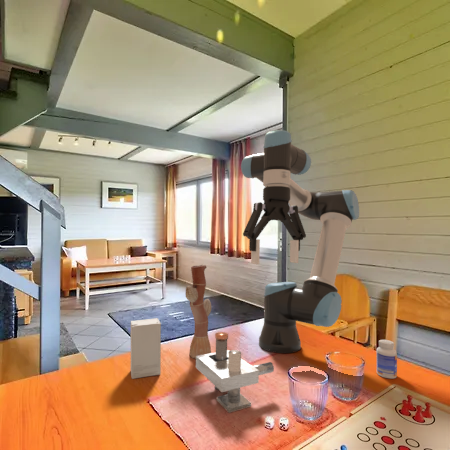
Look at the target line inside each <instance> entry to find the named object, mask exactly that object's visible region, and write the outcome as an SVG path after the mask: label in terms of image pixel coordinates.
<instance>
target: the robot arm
mask: <svg viewBox="0 0 450 450" xmlns="http://www.w3.org/2000/svg"><path fill="white" fill-rule="evenodd" d="M292 140H293V139H292V135H291V133H290V131H288V130H283V129H277V130H276V129H275V130H270V131H268V132H267V133H266V134H265V136H264V142H263V152H262V153H257V154H254V153H253V154H252V155H248V156H245V157H244V158H243V159H242V161H241V165H240V169H241V173H242V175H243V176H244V177H245V178H246V179H254V178H255V179H257V180H259V181H260V182H261V183H262V185H263V186H264V188H263V189H262V190H263V191H262V200H263V202H261V201H259V202H254V204H253V209H252V212H251V215H250V217H249V219H248V221H247V223H246V226H245V228H244V230H243V233H242V236H243V237H246V238H247V240H249V244H248V248H249V252H251V254H250V255H251V256H250V258H251V260H250V263H251V264H254V265H260V245H261V244H260V243H261V239H258V237H259V236H260V235H261V233H262V232H263V231H264V229H265V228H266V226H267V225H268V224H269V223H270V221H277V222H278V221H280V222H281V223H282V224H283V225H284V228H285V229H286V231H287V232H288V233H289V235H290V237H291V239H290V240H289V242H290V243H289V244H290V245H289V246H290V247H289V262H290V263H295V264H299V252H300V250H301V241H302V240H304V239H305V238H306V237H307V234H306V232H305V228H304V225H303V223H302V220H301V217H300V215H301V216H303V217H305V218H307V219H311V220H315V221H320V222H321V224H322V227H321V229H320V230H321V231H320V235H319V239H318V242H317V247H316V251H315V255H314V259H313V262H312V267H311V270H310V275H309V278H307V279H305V280H304V281H303V285H302V287H298V285H297V282H294V281H283V282H282V281H280V282H271V283H268V284H267V285H265V287H264V294H263V297H264V298H263V301H264V303H263V306H264V307H263V310H264V311H263V312H264V313H263V314H264V315H263V326H262V327H261V328H262V329H261V332H260V335H259V337H258V345H259V348H261V349H263V350H266V351H268V352H271V353H276V354H277V353H278V354H291V353H296V352H299V351H300V350H301V348H302V347H301V339H300V335H299V331H298V328H297V322H300V323H305V324H309V325H313V326H316V327H324V328H329V327H332V326H333V325H335V324H336V322H337V320H338V318H339V316H340V314H341V311H342V301H343V300H342V297H341V296H342V295H340V293H338V292H339V290H338V288H337V286H336V285H335V283H336V277H337V274H338V268H339V264H340V259H341V253H342V250H343V244H344V239H345V236H346V231H347V229H348V228H350V227H351V226H352V222H353V221H357V220H358V219H359V217H360V206H359V201H358V200H359V199H358V197H357V194H356V193H355V191H353V190H350V189H346V190H345V189H342V190H334V191H333V190H332V191H330V190H329V191H317V192H311V191H309V189H306V188H305V189H304V188H302V187H301V186H300V185H299V184H298V183H296V181H294V180H293V179H292V178H291V175H292V174H293V175H295V176H296V175H299V176H301V175H304V174H306V173H307V172H308V171H309V170H310V169H311V166H312V165H311V164H312V159H311V156H310V154H309V153H307V152H306V151H305V150H304V149H302V148H300V147H297V146H295V145H293V144H292V142H293V141H292ZM262 211H263V212H264V213H263V212H262ZM262 213H263V214H262ZM261 214H262V215H261ZM259 219H260V220H259Z"/></svg>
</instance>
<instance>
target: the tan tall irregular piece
mask: <svg viewBox="0 0 450 450" xmlns="http://www.w3.org/2000/svg"><path fill="white" fill-rule="evenodd" d="M190 268H191V269H190V271H191V278H192V285H187V286H186V288H185V298H186V299H187V301H189V307H190V310H191V313H192V316H193V317H192V318H193V321H194V331H193V332H194V333H193V337H192V339H191V342H190V346H189V357H190V358H192V359H195V360H196V356H198V355H204V354H209V353H212V349H211V343H210V338H209V316H210V314H211V312H212V302H211V300H210V298H205V291H206V286H207V280H206V275H205V271H206V269H207V265H206V264H201V265H193V266H191V267H190ZM204 298H205V299H204Z"/></svg>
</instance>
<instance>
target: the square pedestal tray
mask: <svg viewBox="0 0 450 450" xmlns="http://www.w3.org/2000/svg"><path fill="white" fill-rule="evenodd" d="M215 358H216V351H215V352H211V353H209V354H204V355H198V356H196V359H195V368H196V370H197V371H199V372H200V373H201V374H202V375H203V376H204V377H205V378H206V379H207V380H208V381H210V383H211V384H212V385H213V386H214V387H215V386H216V387H217V388H218V389H219V390H220V393H225V392H227V394H223V395H219V396H216V402H218V403H219V404H220V406H221V407H223V408H224V409H225V411H227V412H228V413H234V412H236V411H240V410H244V409H246V408H250V407H252V402H251V401H249V399H248V398H247V397H245V396H244V395H243V394H242V393H241V389H242V388H244V387H248V386H251V385H257V384H259V380H260V379H259V378H260V377H259V376H261V375H262V376H263V375H265V374H267V375H268V374H271V373H273V372H274V371H275V367H274V364H273V363H272V362H271V361H269V362H264V363H260V364H255V365H252V364H250V363H248V362H247V361H246V360H245V359H243V358H242V352H241V351H240V350H237V349H231V350H230V349H227V360H223V361H218V362H215Z"/></svg>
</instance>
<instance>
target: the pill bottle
mask: <svg viewBox="0 0 450 450" xmlns="http://www.w3.org/2000/svg"><path fill="white" fill-rule="evenodd" d="M375 351H376V352H375V353H376V374H377V375H378V376H379V377H382V378H385V379H396V378H397V376H398V354H397V350H396V349H395V342H394V341H392V340H388V339H380V340H378V347H377V348H376V350H375Z"/></svg>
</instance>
